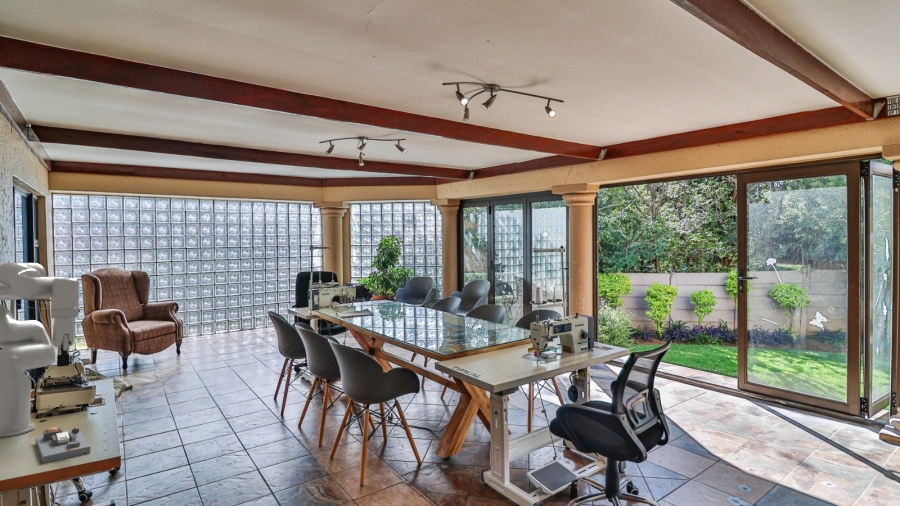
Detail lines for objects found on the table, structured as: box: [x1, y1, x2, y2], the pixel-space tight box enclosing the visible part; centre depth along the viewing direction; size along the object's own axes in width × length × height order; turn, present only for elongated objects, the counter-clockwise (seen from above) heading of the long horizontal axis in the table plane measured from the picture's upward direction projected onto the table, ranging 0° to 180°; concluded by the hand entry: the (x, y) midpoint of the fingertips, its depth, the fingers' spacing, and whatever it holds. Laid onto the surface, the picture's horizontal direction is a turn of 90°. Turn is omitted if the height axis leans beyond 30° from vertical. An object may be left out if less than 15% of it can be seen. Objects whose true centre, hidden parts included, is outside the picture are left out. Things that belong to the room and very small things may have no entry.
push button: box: [46, 426, 59, 433], centre depth 163 cm, size 3×3×3 cm
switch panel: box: [35, 427, 91, 464], centre depth 160 cm, size 22×12×4 cm, turn 46°
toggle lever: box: [71, 427, 80, 442], centre depth 155 cm, size 2×2×6 cm
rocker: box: [56, 430, 70, 443], centre depth 160 cm, size 5×3×1 cm, turn 46°
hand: (63, 365), depth 163 cm, fingers closed
